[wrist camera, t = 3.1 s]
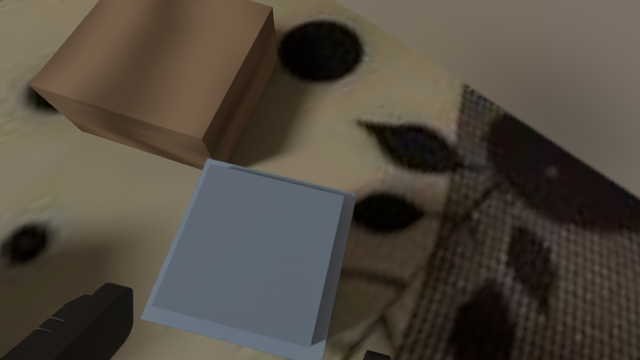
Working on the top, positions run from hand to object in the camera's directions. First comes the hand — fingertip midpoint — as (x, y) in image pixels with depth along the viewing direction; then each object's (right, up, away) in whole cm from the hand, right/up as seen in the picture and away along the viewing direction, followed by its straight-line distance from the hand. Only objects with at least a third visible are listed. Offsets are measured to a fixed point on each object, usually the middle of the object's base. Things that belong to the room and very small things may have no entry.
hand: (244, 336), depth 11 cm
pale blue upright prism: (0, -1, +8) cm, 8 cm away
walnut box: (-7, +11, +13) cm, 18 cm away
